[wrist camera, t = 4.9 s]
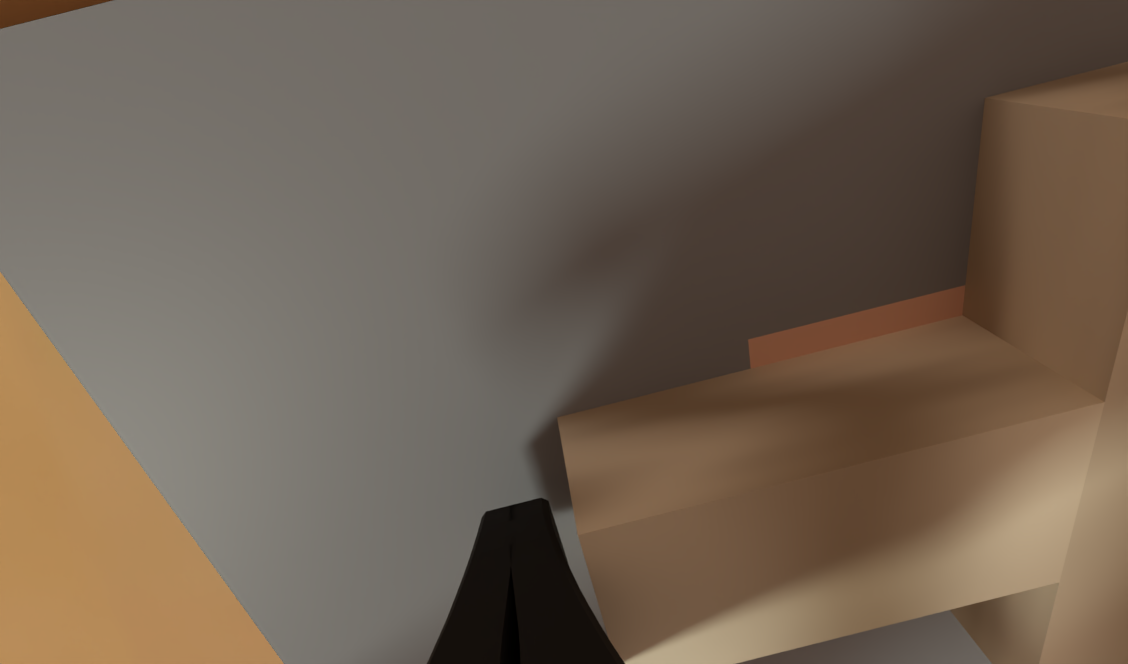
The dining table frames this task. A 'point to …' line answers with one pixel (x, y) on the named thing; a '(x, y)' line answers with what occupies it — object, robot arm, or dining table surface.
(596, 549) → the t block
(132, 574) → the dining table surface
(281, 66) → the board
